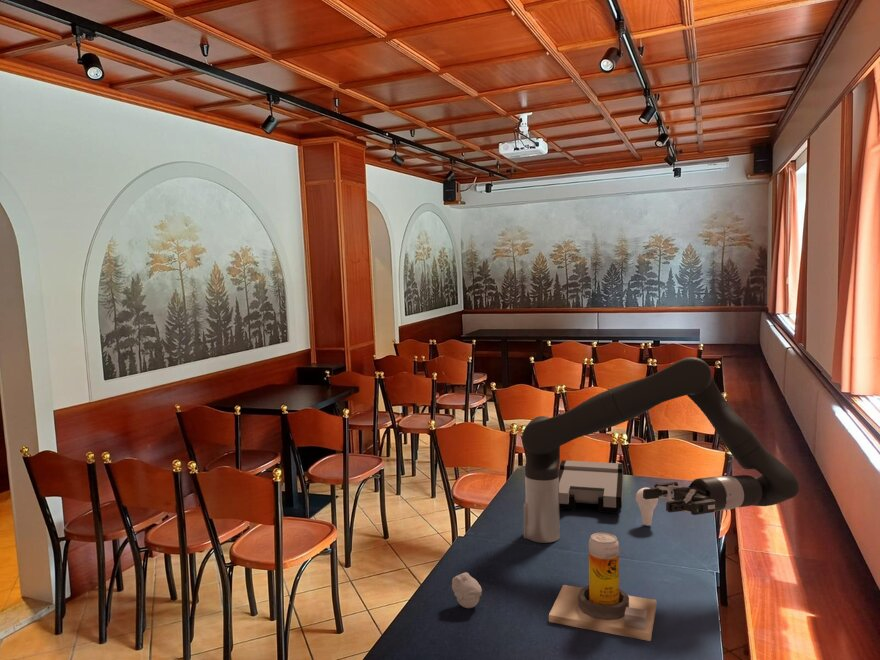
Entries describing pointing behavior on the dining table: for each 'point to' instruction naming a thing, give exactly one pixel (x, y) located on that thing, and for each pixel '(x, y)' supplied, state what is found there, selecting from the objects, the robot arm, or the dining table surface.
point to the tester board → (604, 613)
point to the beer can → (603, 569)
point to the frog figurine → (466, 590)
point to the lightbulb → (646, 507)
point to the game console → (591, 484)
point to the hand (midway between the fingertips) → (655, 500)
